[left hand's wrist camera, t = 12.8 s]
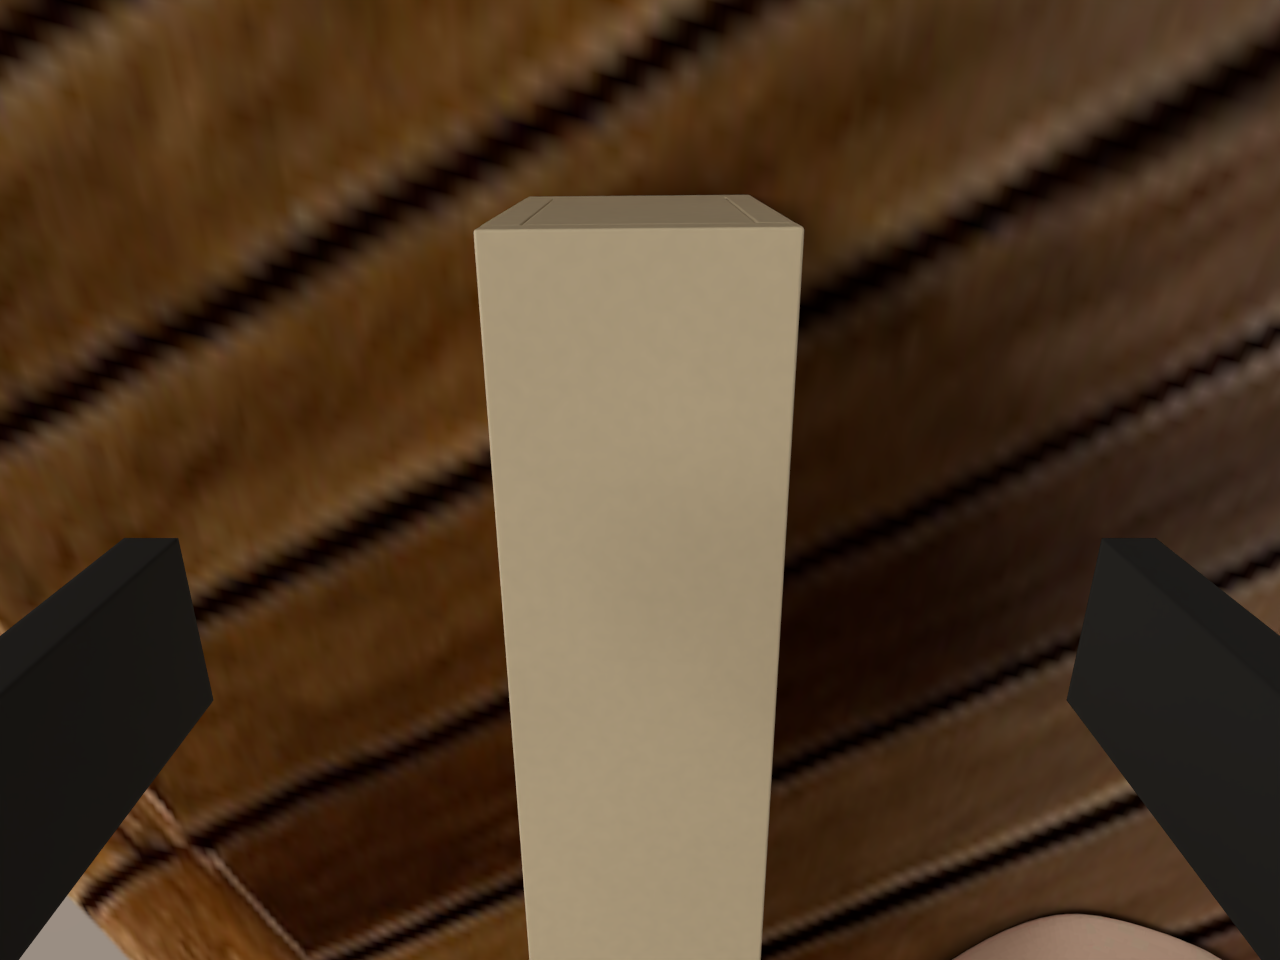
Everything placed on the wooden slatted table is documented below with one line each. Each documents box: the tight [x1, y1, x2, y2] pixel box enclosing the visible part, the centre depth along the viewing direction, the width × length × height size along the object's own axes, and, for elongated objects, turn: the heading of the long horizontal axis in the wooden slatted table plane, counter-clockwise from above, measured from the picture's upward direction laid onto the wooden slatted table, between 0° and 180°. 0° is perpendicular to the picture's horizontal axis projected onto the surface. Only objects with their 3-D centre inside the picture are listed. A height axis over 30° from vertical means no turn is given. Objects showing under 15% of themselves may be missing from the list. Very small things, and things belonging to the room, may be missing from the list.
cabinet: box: [474, 195, 804, 960], centre depth 26 cm, size 22×7×9 cm, turn 1°
